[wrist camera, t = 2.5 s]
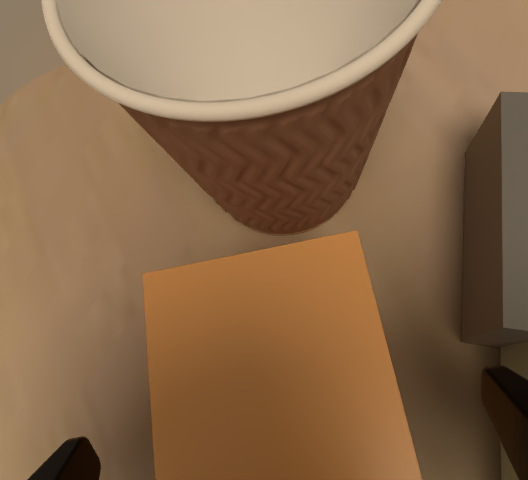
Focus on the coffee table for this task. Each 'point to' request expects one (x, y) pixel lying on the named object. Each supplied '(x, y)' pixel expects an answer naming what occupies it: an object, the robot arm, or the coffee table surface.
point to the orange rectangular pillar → (274, 369)
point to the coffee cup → (250, 90)
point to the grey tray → (498, 238)
